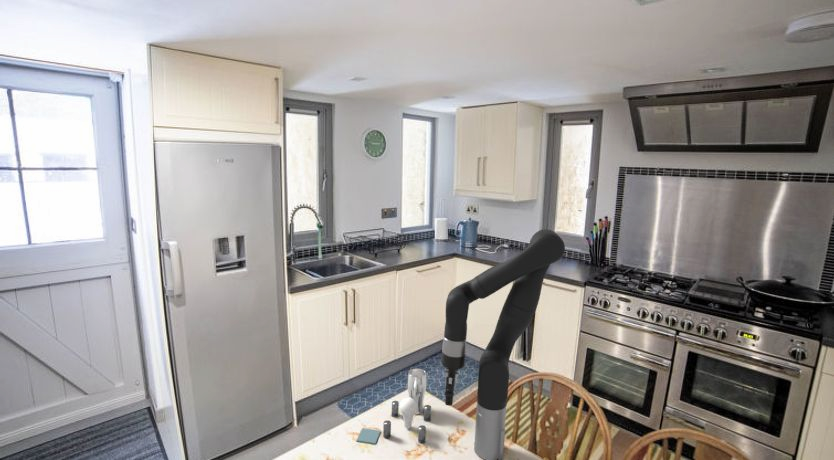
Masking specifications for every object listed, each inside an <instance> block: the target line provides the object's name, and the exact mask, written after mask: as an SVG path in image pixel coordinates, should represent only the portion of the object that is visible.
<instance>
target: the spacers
mask: <svg viewBox="0 0 834 460" xmlns="http://www.w3.org/2000/svg"><path fill="white" fill-rule="evenodd" d="M399 412H400V403H399V401H397V400H392V402H391V417H393V418H398V417H399ZM431 419H432V406H431V405H430V404H425V405H424V412H423V421H424V422H427V423H428V422H431ZM382 429H383V430H382V431H383V438H384V439H386V440H387V439H390V438H391V437H392V434H391V433H392V432H391V431H392V422H391V420H384V421H383V428H382ZM417 430H418V431H417V436H418V437H417V442H418V443H419V444H421V445H423V444H426V438H427V427H426V425H421V424H420V425H419V426H418V429H417Z"/></svg>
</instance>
